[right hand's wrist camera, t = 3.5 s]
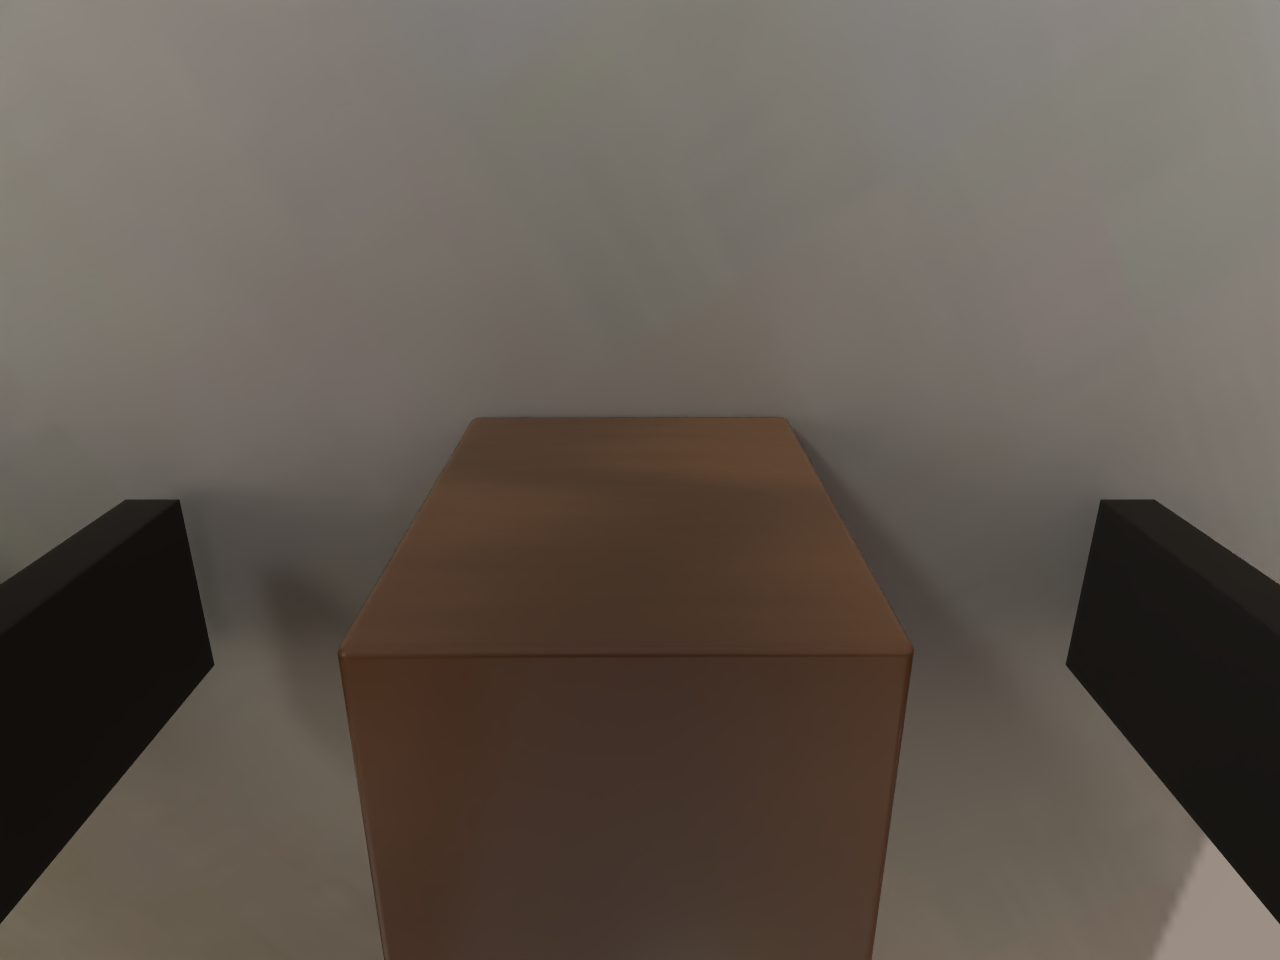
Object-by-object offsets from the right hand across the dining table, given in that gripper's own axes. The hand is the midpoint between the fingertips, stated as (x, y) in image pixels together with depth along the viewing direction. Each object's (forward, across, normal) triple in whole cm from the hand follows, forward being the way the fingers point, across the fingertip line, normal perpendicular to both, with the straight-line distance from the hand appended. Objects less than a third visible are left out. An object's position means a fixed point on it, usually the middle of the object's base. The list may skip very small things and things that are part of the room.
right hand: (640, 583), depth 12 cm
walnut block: (+1, 0, 0) cm, 1 cm away
